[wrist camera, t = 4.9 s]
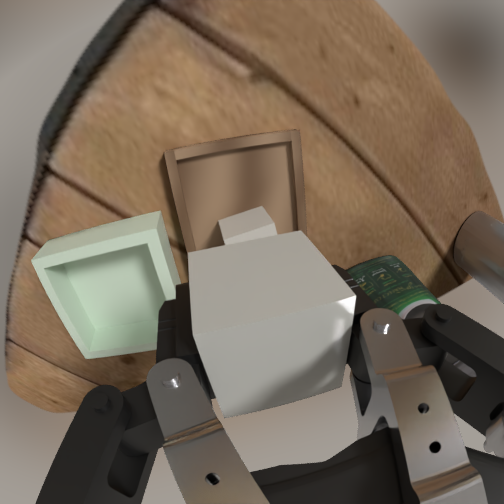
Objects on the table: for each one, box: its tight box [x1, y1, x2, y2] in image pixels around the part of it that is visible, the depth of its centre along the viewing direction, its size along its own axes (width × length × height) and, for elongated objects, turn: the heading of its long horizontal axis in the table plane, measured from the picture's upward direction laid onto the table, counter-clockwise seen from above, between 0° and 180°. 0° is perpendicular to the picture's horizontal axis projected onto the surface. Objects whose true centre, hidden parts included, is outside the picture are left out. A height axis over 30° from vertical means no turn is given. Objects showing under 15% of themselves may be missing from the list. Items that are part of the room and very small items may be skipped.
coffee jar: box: [346, 255, 476, 377], centre depth 25 cm, size 10×8×19 cm
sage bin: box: [31, 211, 181, 359], centre depth 25 cm, size 12×12×4 cm
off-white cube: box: [188, 230, 356, 418], centre depth 9 cm, size 4×4×4 cm
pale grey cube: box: [218, 206, 277, 245], centre depth 25 cm, size 4×4×4 cm
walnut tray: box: [164, 129, 307, 254], centre depth 26 cm, size 11×17×1 cm, turn 8°
